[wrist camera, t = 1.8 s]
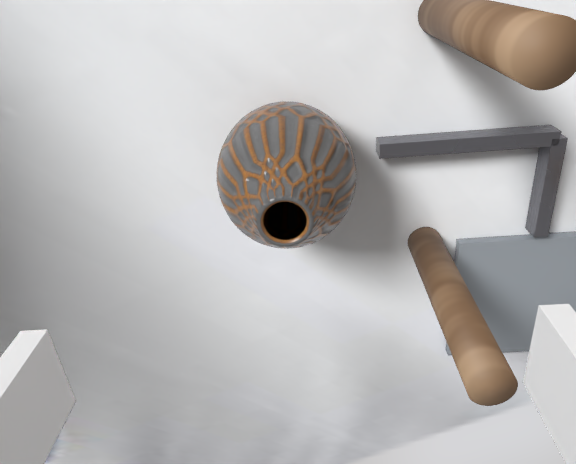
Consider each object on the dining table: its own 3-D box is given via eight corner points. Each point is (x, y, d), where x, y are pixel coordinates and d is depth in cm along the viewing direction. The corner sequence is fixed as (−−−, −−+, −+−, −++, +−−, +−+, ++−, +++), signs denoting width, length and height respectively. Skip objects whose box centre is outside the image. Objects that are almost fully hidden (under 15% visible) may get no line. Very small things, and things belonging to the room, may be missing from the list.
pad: (445, 349, 35) (448, 355, 34) (456, 239, 30) (459, 243, 30) (575, 342, 34) (580, 348, 34) (606, 229, 30) (611, 234, 29)
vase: (360, 187, 29) (385, 270, 21) (250, 218, 30) (234, 306, 22) (330, 71, 26) (346, 118, 18) (208, 110, 27) (173, 170, 19)
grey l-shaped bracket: (375, 237, 30) (378, 247, 29) (376, 137, 27) (379, 144, 26) (538, 226, 30) (547, 236, 29) (558, 124, 27) (569, 130, 26)
